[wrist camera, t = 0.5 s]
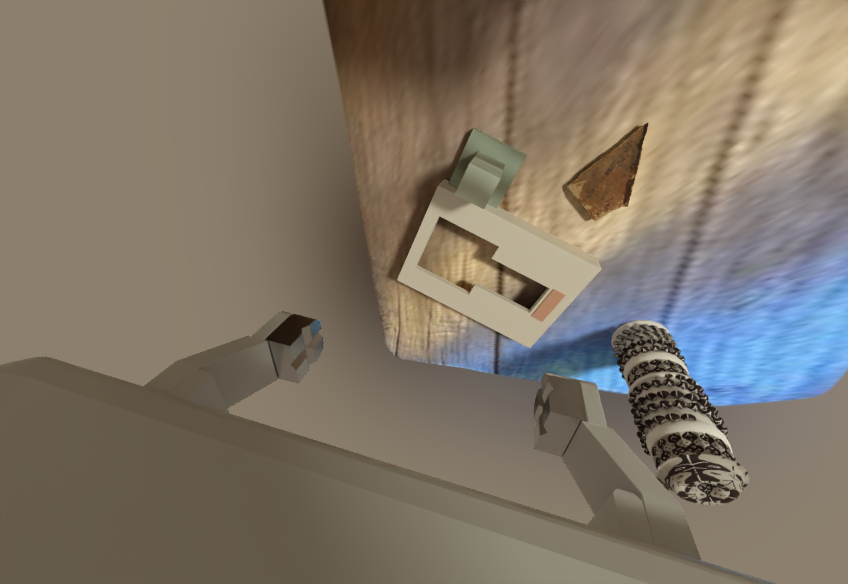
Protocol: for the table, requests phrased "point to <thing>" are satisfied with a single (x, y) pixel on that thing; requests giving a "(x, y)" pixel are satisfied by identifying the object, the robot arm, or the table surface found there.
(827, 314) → the table surface
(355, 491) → the robot arm
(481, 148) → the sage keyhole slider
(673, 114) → the table surface
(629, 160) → the shard
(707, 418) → the decorative candle
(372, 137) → the table surface
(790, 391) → the table surface
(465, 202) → the keyhole plate
